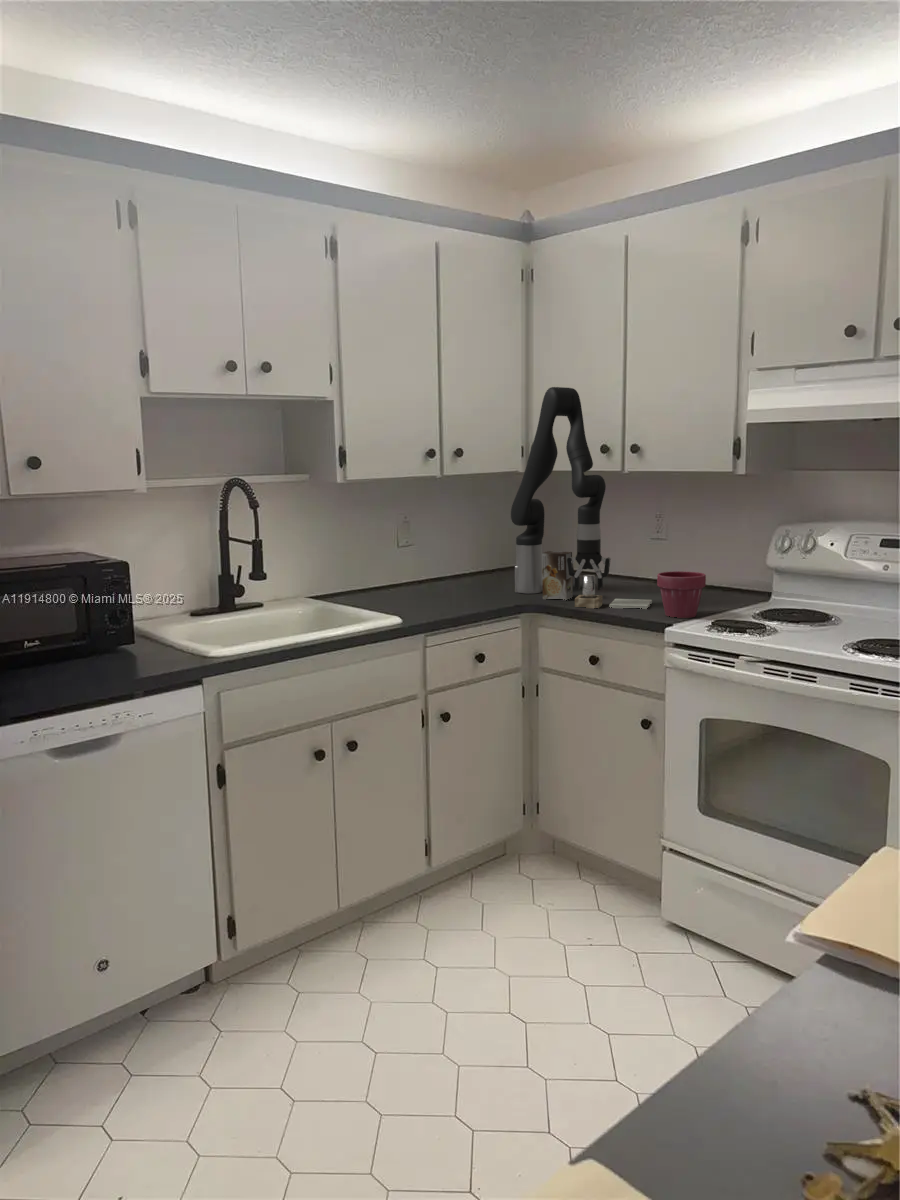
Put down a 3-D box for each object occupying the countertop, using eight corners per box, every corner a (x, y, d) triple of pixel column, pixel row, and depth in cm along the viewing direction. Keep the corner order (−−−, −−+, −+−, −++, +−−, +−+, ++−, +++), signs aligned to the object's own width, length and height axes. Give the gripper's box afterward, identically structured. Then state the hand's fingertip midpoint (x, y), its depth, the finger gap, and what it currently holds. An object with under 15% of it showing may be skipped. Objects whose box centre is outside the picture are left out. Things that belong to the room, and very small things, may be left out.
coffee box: (573, 598, 305) (573, 551, 302) (567, 601, 299) (566, 553, 297) (548, 596, 309) (548, 550, 306) (541, 599, 304) (541, 552, 301)
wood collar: (574, 607, 287) (574, 598, 286) (579, 603, 294) (579, 594, 293) (598, 608, 284) (598, 599, 283) (602, 604, 291) (602, 595, 291)
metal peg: (581, 607, 288) (581, 576, 286) (583, 604, 291) (583, 574, 290) (593, 607, 286) (593, 576, 285) (595, 605, 290) (596, 575, 288)
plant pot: (675, 609, 279) (675, 569, 277) (714, 615, 269) (715, 573, 267) (647, 615, 270) (647, 574, 268) (686, 621, 260) (687, 578, 258)
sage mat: (609, 608, 285) (609, 604, 284) (615, 601, 296) (615, 598, 296) (647, 609, 281) (647, 606, 280) (651, 602, 292) (651, 599, 292)
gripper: (613, 536, 286) (612, 588, 289) (569, 536, 291) (569, 586, 294) (609, 539, 279) (609, 591, 282) (564, 538, 284) (564, 590, 287)
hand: (588, 589), depth 288 cm, fingers open, 6 cm apart
